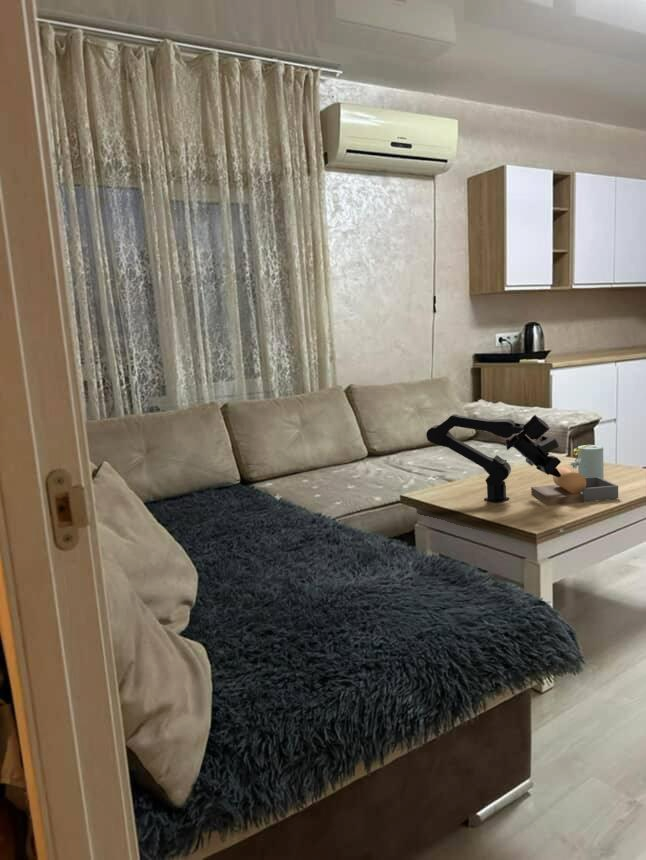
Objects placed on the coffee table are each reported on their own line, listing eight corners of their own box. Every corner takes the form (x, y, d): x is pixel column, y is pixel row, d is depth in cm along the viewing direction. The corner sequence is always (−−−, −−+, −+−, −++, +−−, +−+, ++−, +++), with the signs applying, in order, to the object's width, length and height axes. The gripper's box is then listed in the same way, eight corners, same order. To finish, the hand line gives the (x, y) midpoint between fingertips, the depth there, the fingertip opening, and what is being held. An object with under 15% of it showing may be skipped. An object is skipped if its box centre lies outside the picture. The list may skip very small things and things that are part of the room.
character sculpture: (582, 473, 245) (581, 440, 243) (612, 476, 237) (611, 442, 235) (561, 484, 231) (561, 449, 229) (593, 488, 223) (592, 452, 221)
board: (548, 505, 206) (548, 498, 205) (531, 493, 222) (531, 487, 221) (584, 502, 206) (584, 495, 206) (564, 491, 222) (563, 484, 221)
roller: (573, 497, 208) (590, 485, 208) (561, 482, 207) (578, 469, 207) (560, 490, 219) (575, 478, 219) (549, 475, 218) (565, 463, 218)
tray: (584, 501, 207) (583, 488, 206) (565, 491, 221) (565, 479, 220) (618, 498, 207) (618, 485, 206) (597, 488, 221) (597, 476, 221)
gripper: (553, 434, 201) (587, 464, 202) (533, 426, 219) (564, 454, 221) (530, 459, 202) (564, 489, 204) (512, 450, 220) (543, 477, 222)
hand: (559, 476), depth 212 cm, fingers closed
